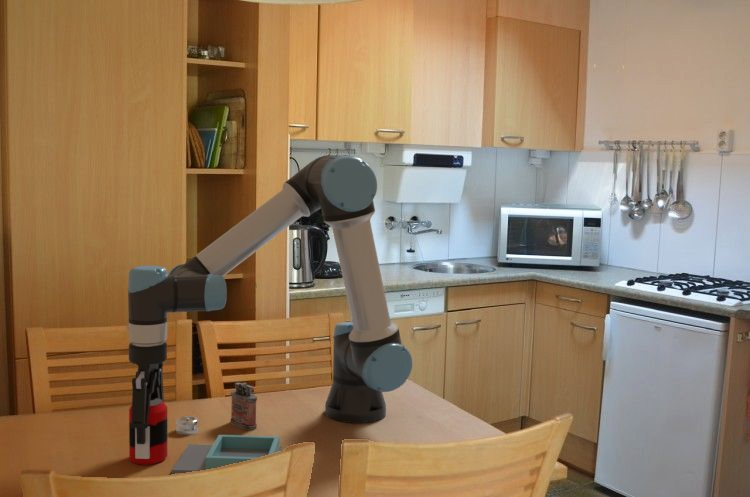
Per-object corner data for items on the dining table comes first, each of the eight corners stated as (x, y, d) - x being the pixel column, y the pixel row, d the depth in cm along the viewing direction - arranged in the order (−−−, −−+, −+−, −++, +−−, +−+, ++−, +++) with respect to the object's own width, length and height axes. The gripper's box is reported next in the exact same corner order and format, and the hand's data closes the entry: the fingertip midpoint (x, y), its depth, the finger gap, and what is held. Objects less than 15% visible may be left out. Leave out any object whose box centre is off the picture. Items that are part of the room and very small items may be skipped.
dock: (282, 451, 169) (282, 435, 169) (273, 477, 155) (273, 460, 155) (188, 448, 169) (188, 433, 169) (172, 474, 155) (172, 457, 155)
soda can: (171, 451, 167) (171, 396, 166) (162, 465, 160) (162, 408, 158) (135, 451, 167) (134, 396, 166) (124, 464, 159) (124, 407, 158)
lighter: (227, 422, 187) (227, 381, 186) (238, 419, 189) (239, 378, 188) (248, 431, 181) (248, 388, 180) (260, 427, 184) (260, 386, 183)
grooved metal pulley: (189, 436, 177) (202, 429, 181) (189, 423, 177) (203, 417, 181) (171, 432, 179) (185, 426, 184) (171, 420, 179) (185, 413, 183)
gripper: (144, 330, 171) (144, 432, 173) (112, 354, 150) (113, 469, 153) (178, 331, 171) (179, 433, 173) (152, 355, 150) (152, 470, 153)
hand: (148, 450), depth 163 cm, fingers closed on soda can, 7 cm apart
